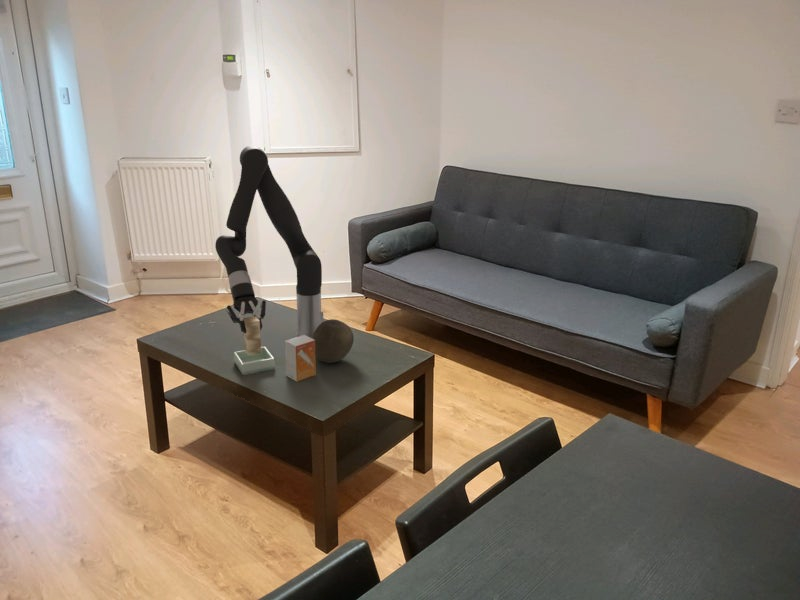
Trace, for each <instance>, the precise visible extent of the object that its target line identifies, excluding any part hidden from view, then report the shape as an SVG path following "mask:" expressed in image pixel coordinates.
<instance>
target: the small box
mask: <svg viewBox="0 0 800 600" xmlns="http://www.w3.org/2000/svg"><path fill="white" fill-rule="evenodd" d="M284 349H285V350H284V352H285V355H284V357H285V376H286V377H288V378H289V379H292V380H293V381H295V382H296V383H297V382H299V381H300V382H301V381H302V380H305V379H308V378H310V377H313V376H316V374H317V373H316V370H317V369H316V368H317V367H316V355H315V340H314V339H313V338H310V337H308V336H306V335H302V336H299V335H298V336H295V337H292V338H289V339H287V340H284Z"/></svg>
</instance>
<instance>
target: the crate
mask: <svg viewBox="0 0 800 600" xmlns="http://www.w3.org/2000/svg"><path fill="white" fill-rule="evenodd" d="M233 355H234V357H233V359H234V363H235V365H236V367H237V368H238V369H239V372H240V373H241V374H242V375H243V376H246V375H251V374H255V373H256V374H257V373H261V371H262V372H266V371H272V370H275V368H276V367H275V357H274V356H273V355H272V353H271V352H270V351H269V350H268V348H267V347H266V346H261V353H259V354H254V355H248V354H247V353H246V351H245V349H244V350H239V351H234V352H233Z"/></svg>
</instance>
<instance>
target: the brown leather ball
mask: <svg viewBox="0 0 800 600" xmlns="http://www.w3.org/2000/svg"><path fill="white" fill-rule="evenodd" d="M354 337H355V335H354V333H353V331H352V328H351V327H350V326H349V325H348V324H347V323H345V322H343V321H341V320H339V319H327V320H325V321H324V322H322V323H321V324H320V325H319V326H318V327H317V328H316V330H315V332H314V334H313V338H312V339H314V340H315V358H317V359H318V360H319V361H321V362H323V363H326V364H333V363H336V362H339V361H341V360H342V359H344V358H345V357H346V356H347V355H348V354H349V353H350V351H351V349H352V347H353V344H354Z"/></svg>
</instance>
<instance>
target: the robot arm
mask: <svg viewBox="0 0 800 600" xmlns="http://www.w3.org/2000/svg"><path fill="white" fill-rule="evenodd" d="M239 163H240V166H241V171H240V173H241V174H240V178H239V183H238V186H237V189H236V192H235V195H234V197H233V200H232V203H231V205H230V208H229V212H228V216H227V220H226V225H225V226H226V228H227V229H229V230H231V231H233V232H234V236H231V235H225V234H223V235H220V236H218V237H217V239H216V241H215V251H216V253H217V254H216V255H218V258H219V259H220V260H221V263H222V264H223V266H224V267H225V269H226V270H225V271H226V274H227V278H228V285H229V289H230V293H231V297H232V301H233V304H231V305H227V306H226V308H225V309H226V310H225V312H227V314H228V316H229V317H230V319H231V321H232V323H233V324H238V325H239V328H240V331H241V333H243V334H244V333H246V327H245V323H244V321H243V318H245V317H244V315H247V314H249V315H252V316H251V317H254V316H256V317H257V318H258V319H259V321H260V332H261V331H262V328H263V322H262V320H264V319H265V316H266V307H267V306H266V305H267V301H266V300H262V301H261V300H258V299H257V298H256V295H255V291H254V288H253V287H254V286H253V283H252V279H251V277H250V274H249V272H248V266H247V264H246V260H244V259H243V258H242V257H241V256H243V254H244V253H245V252H246V249H247V226H248V223H249V219H250V216H251V211H252V207H253V204H254V200H255V196H256V193H258V194H259V195H258V196H259V198H260V200H261V203H262V206H263V207H264V210H265V212H266V213H267V214H266V215H267V217H268V218H269V220H270V222H271V224H272V225H273V227H274V228H275V230H276V232H277V233H278V234H279V236H280V238H282V240H283V241H284V243H285V245H286V246H287V249H288V251H289V253H290V255H291V258H292V261H293V264H294V266H295V268H296V287H295V290H296V292H295V294H296V313H297V314H296V315H297V317H296V319H297V335H298V336H302V335H306V336H308V337H310V338H312V339H313V334H314V332H315V330H316V328H317V327H318V326H319V325H320V324H321V323H322V322H324V320H325V319H324V311H323V310H322V284H323V283H322V280H323V279H322V278H323V277H322V276H323V275H322V272H323V271H322V270H323V269H322V262H321V259H320V257H319V255H318V254H317V253H316V252H315V251H314V249H313V248H312V246H311V244H310V243H309V242H308V240H307V238H306V236H305V235H304V233H303V229H302V225H301V223H300V220H299V217H298V215H297V213H296V211H295V209H294V207H293V205H292V202H291V201H290V199H289V198H288V196H287V195H286V193H285V191H284V190H283V188H282V187H281V186H280V184H279V183H278V182H277V180H276V178H275V177H274V174H273V173H272V169H271V168H270V165H269V159H268V156H267V154H266V152H265V151H264V150H263V149H262V148H261V147H259V146H255V145H249V146H246V147H244V148H243V149H242V150H241V152H240V154H239ZM257 306H258V307H259V308H260V313H259V310H258V309H257ZM234 310H236V311H237V312H238V314H239V315H238V317H237V315H236V312H234Z"/></svg>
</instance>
